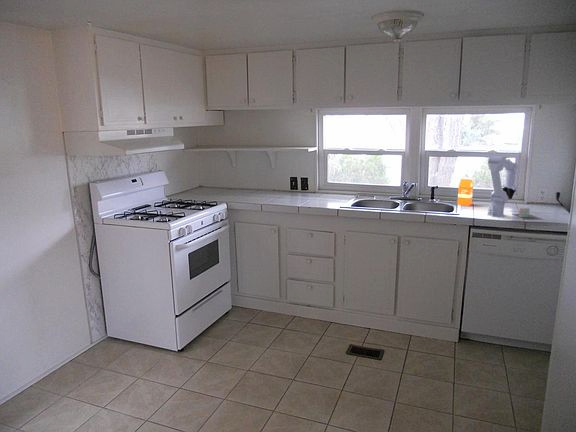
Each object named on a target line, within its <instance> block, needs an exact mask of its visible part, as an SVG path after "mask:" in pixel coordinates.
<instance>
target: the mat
mask: <svg viewBox="0 0 576 432" xmlns="http://www.w3.org/2000/svg"><path fill="white" fill-rule="evenodd" d="M511 215H512V216H515V217H517V218H520V219H523V220H526V221H527V220H528V221H529V220H532V221H534V220H542V218H540V217H538V216H535V215H532V214H530V213H529V217H519V213H511Z"/></svg>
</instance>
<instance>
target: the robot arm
mask: <svg viewBox="0 0 576 432" xmlns="http://www.w3.org/2000/svg"><path fill="white" fill-rule="evenodd" d="M487 165H488V166H487V167H488V169H489V170H490V175H491V180H492V186H493V191H492V192H491V193H490V201H491V203H489V205H488V208H487V209H488V210H487V216H490V217H492V218H494V217H498V218H499V217H506V215H505V214H504V211H505V204H507V203H508V200H512V199H513V196H514V194H515V192H517V187H516V185H515V178H516V174H517V170H518V164H517V163H515V162H513V161H511V159H510V158H509V159H508V158H507V157H506V156H499V155H490V156H488V159H487ZM503 169H505V171H506V173H505V181H504V183H502V180H501V174H500V172H501V171H504V170H503Z"/></svg>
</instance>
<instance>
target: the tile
mask: <svg viewBox="0 0 576 432" xmlns="http://www.w3.org/2000/svg"><path fill="white" fill-rule="evenodd" d="M518 214H519V217H518V218H520V217H529V214H530V208H529V207H523V208H522V207H521V208H519V213H518Z"/></svg>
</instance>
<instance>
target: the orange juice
mask: <svg viewBox="0 0 576 432" xmlns="http://www.w3.org/2000/svg"><path fill="white" fill-rule="evenodd" d="M473 193H474V185H473V179H467V178H466V179H465V178H461V179H460V182H459V185H458V193H457V205H460V206H468V207H470V206H471V205H472V203H473Z"/></svg>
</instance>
